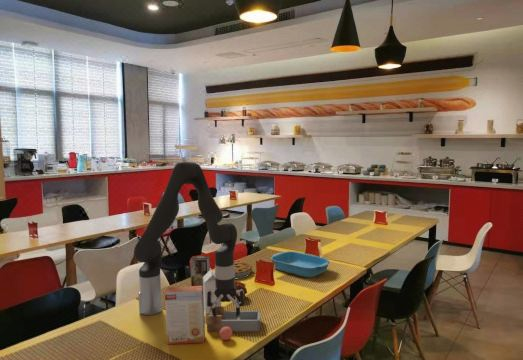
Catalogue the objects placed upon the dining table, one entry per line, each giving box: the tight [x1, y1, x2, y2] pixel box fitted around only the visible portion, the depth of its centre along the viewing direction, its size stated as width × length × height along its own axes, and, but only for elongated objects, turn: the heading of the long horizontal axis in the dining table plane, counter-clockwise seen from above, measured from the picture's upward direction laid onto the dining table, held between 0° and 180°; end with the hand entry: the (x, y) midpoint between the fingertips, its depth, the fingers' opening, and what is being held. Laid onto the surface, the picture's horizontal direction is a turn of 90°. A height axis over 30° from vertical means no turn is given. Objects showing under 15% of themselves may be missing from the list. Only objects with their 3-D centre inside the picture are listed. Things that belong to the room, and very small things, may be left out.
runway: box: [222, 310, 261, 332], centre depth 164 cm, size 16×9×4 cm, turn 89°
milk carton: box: [203, 267, 222, 315], centre depth 179 cm, size 7×7×19 cm
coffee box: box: [189, 255, 211, 286], centre depth 207 cm, size 9×6×16 cm
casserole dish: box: [270, 250, 330, 278], centre depth 233 cm, size 37×22×7 cm, turn 48°
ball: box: [219, 326, 233, 341], centre depth 154 cm, size 5×5×5 cm
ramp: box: [206, 305, 226, 332], centre depth 165 cm, size 7×9×6 cm
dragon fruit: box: [235, 280, 248, 300], centre depth 194 cm, size 8×8×12 cm
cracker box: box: [164, 285, 206, 345], centre depth 153 cm, size 14×6×21 cm, turn 92°
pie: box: [214, 260, 253, 279], centre depth 229 cm, size 22×22×5 cm
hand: (226, 316), depth 153 cm, fingers open, 8 cm apart
